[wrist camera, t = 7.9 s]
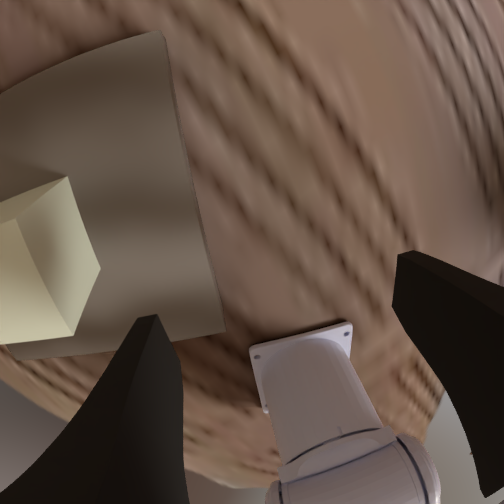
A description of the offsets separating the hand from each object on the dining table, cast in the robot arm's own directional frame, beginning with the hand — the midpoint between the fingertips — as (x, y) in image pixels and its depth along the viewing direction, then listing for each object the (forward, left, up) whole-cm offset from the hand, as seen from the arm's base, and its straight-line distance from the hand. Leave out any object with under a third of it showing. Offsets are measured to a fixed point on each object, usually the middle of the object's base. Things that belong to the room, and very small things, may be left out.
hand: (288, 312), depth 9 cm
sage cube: (+2, +10, -7) cm, 12 cm away
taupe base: (+1, +10, -9) cm, 14 cm away
